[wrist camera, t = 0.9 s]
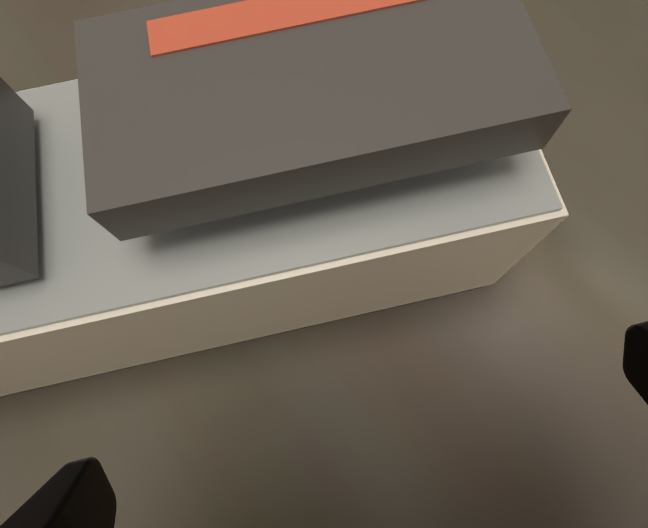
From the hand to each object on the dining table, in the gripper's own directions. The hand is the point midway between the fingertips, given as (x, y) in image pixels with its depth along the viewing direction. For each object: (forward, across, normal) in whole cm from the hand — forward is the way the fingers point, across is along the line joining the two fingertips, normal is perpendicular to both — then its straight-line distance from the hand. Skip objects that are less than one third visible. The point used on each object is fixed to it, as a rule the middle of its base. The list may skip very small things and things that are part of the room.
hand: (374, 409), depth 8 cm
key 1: (+8, -1, -4) cm, 10 cm away
